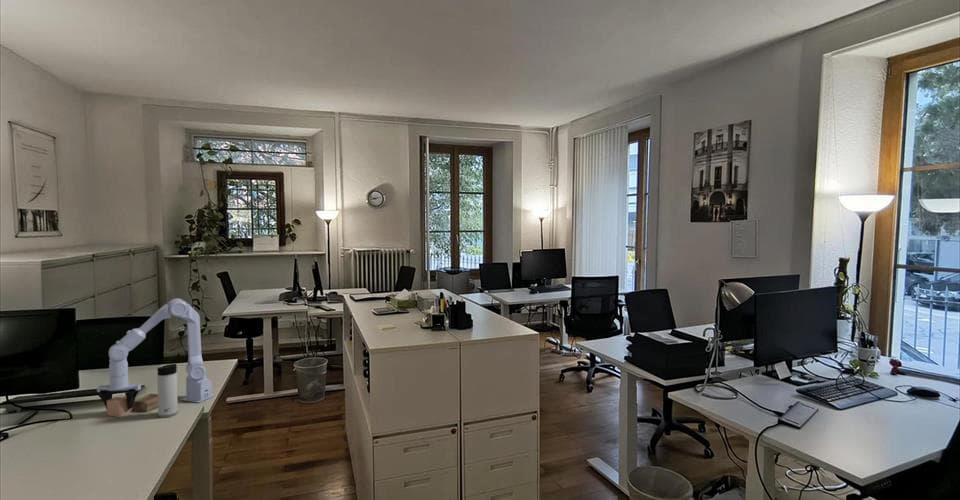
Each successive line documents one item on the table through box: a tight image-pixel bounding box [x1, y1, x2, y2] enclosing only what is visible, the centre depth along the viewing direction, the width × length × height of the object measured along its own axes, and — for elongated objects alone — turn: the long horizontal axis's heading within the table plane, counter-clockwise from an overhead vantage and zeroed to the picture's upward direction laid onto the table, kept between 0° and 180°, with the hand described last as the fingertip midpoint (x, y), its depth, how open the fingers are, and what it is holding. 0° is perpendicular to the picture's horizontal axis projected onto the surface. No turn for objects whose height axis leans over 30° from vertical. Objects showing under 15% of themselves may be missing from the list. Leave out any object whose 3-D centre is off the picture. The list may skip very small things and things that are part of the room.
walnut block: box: [132, 393, 158, 413], centre depth 184 cm, size 8×8×4 cm
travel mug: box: [157, 363, 179, 419], centre depth 176 cm, size 6×7×20 cm
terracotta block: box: [106, 394, 133, 418], centre depth 177 cm, size 6×6×6 cm
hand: (119, 408), depth 177 cm, fingers closed on terracotta block, 7 cm apart
